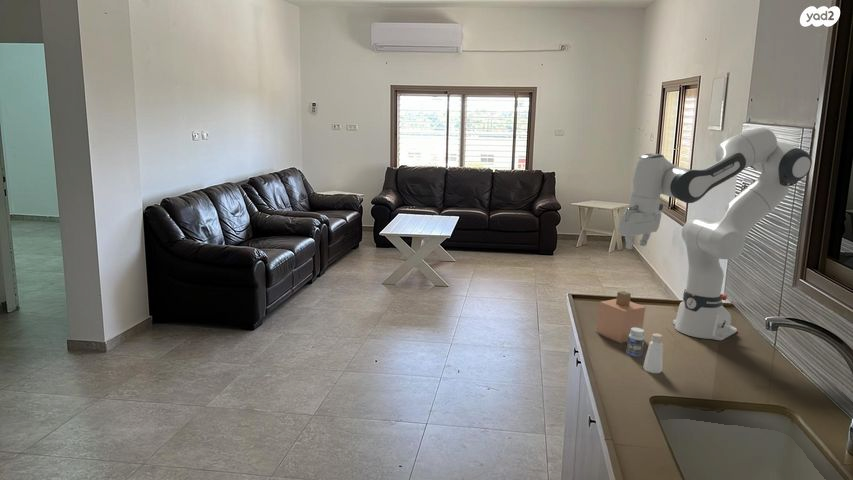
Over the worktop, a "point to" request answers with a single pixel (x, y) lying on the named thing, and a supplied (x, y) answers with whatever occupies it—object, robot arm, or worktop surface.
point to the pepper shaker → (654, 355)
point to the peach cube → (619, 317)
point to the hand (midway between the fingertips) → (636, 247)
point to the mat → (610, 338)
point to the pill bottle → (635, 342)
